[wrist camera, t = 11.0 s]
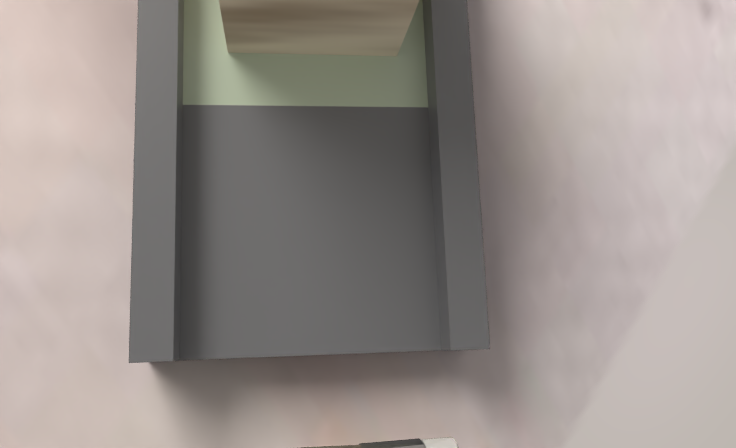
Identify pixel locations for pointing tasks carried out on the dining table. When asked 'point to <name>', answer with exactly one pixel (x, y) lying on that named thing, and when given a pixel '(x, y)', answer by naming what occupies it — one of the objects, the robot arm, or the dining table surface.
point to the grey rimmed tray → (303, 194)
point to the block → (316, 26)
